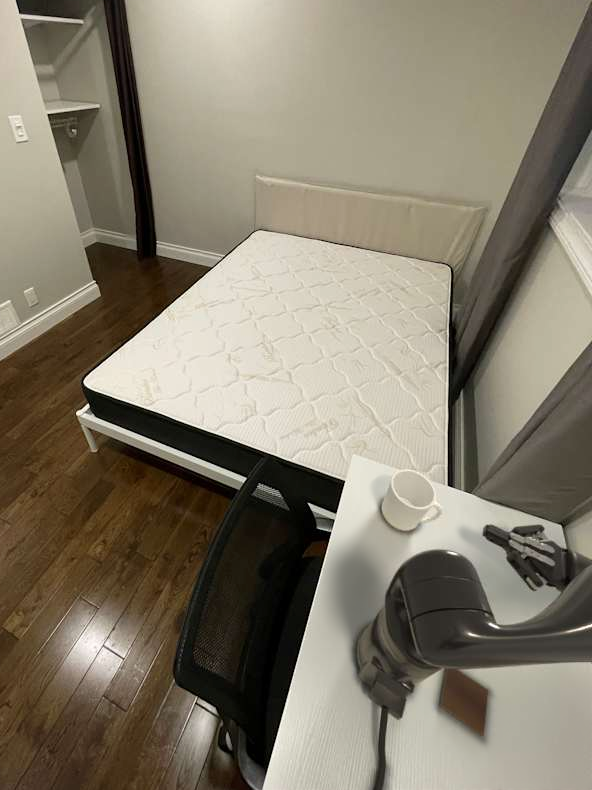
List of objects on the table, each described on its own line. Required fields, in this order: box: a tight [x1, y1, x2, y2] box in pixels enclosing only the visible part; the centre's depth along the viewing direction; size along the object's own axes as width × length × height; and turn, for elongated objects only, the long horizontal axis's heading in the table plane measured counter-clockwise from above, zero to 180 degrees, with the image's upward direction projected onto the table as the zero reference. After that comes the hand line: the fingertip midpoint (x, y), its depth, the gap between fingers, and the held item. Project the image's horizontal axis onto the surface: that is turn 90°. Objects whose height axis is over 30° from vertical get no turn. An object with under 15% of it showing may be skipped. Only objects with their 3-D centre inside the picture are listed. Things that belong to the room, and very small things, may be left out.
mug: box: [381, 468, 443, 532], centre depth 78 cm, size 11×9×10 cm
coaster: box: [439, 669, 489, 737], centre depth 58 cm, size 6×6×1 cm
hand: (484, 529), depth 70 cm, fingers closed
